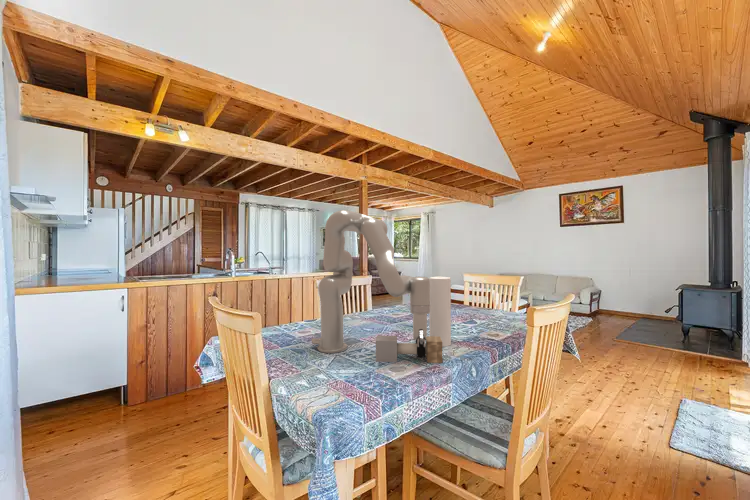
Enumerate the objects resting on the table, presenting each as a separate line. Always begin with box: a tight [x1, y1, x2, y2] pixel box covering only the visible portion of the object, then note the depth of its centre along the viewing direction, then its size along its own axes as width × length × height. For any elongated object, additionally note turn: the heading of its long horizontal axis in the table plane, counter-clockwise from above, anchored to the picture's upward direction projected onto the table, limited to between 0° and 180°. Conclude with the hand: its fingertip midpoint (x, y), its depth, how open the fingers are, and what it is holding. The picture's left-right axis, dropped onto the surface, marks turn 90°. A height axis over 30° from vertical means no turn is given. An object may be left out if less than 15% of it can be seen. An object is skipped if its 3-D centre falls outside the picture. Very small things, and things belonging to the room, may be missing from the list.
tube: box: [397, 342, 427, 356], centre depth 126 cm, size 15×5×5 cm, turn 85°
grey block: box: [375, 335, 398, 363], centre depth 127 cm, size 8×7×8 cm
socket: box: [425, 335, 443, 364], centre depth 125 cm, size 6×7×8 cm
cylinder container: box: [428, 275, 452, 348], centre depth 146 cm, size 9×9×30 cm
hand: (420, 352), depth 126 cm, fingers open, 9 cm apart
